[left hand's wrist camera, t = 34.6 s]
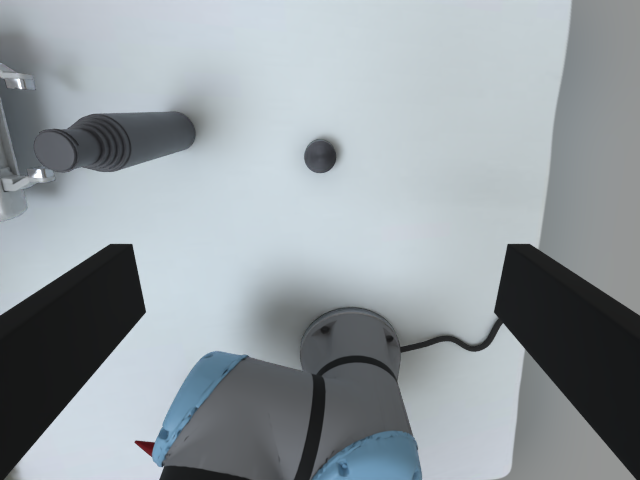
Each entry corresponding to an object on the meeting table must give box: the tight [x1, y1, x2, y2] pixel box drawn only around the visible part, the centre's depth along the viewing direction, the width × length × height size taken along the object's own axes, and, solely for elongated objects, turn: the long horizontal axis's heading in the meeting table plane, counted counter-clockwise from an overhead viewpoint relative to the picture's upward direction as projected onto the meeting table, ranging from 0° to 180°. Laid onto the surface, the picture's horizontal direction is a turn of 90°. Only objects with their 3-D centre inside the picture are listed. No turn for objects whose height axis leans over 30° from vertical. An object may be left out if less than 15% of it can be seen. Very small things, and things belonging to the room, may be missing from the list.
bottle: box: [34, 112, 195, 173], centre depth 33 cm, size 5×5×21 cm
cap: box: [304, 139, 336, 173], centre depth 43 cm, size 4×4×2 cm
